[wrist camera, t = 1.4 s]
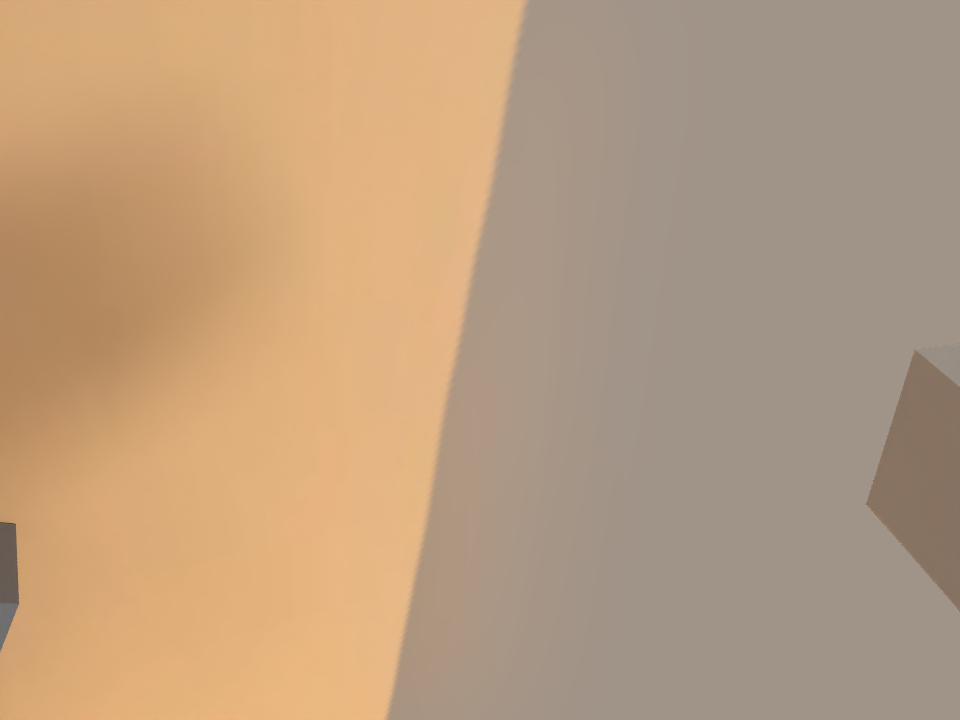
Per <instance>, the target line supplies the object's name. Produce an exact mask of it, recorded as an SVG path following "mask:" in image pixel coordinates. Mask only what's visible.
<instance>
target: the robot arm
mask: <svg viewBox="0 0 960 720" xmlns="http://www.w3.org/2000/svg"><path fill="white" fill-rule="evenodd" d="M866 504H867V505H868V507H869V508H870V509H871V510H872V511H873V512H874V513H875V515H876V516H877V517H878V518H879V519H880V520H881V521H882V523H883V524H884V525H885V526H886V527H887V528H888V529H889V531H890V532H891V533H892V534H893V535H894V536H895V537H896V539H897V540H898V541H899V542H900V543H901V544H902V545H903V546H904V548H905V549H906V550H907V551H908V552H909V553H910V555H911V556H912V557H913V558H914V559H915V560H916V561H917V563H918V564H919V565H920V566H921V567H922V568H923V569H924V571H925V572H926V573H927V574H928V575H929V576H930V577H931V579H932V580H933V581H934V582H935V583H936V584H937V585H938V587H939V588H940V589H941V590H942V591H943V592H944V594H945V595H946V596H947V597H948V598H949V599H950V600H951V601H952V603H953V604H954V605H955V606H956V607H957V608H958V609H959V611H960V343H959V344H952V345H944V346H936V347H929V348H921V349H915V350H914V354H913V357H912V360H911V363H910V366H909V370H908V373H907V376H906V379H905V382H904V385H903V389H902V392H901V395H900V398H899V402H898V405H897V408H896V411H895V414H894V417H893V420H892V424H891V427H890V430H889V434H888V437H887V440H886V443H885V446H884V449H883V452H882V456H881V459H880V462H879V465H878V468H877V471H876V475H875V478H874V481H873V484H872V488H871V490H870V494H869V497H868V500H867V503H866Z"/></svg>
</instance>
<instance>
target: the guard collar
mask: <svg viewBox="0 0 960 720" xmlns="http://www.w3.org/2000/svg"><path fill="white" fill-rule="evenodd" d="M18 605H19V594H18V569H17V545H16V524H9V523H0V651H1V648H2V646H3V643H4V641H5V638H6V635H7V633H8V630H9V628H10V625H11V623H12V620H13V618H14V615H15V612H16V610H17V607H18Z"/></svg>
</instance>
